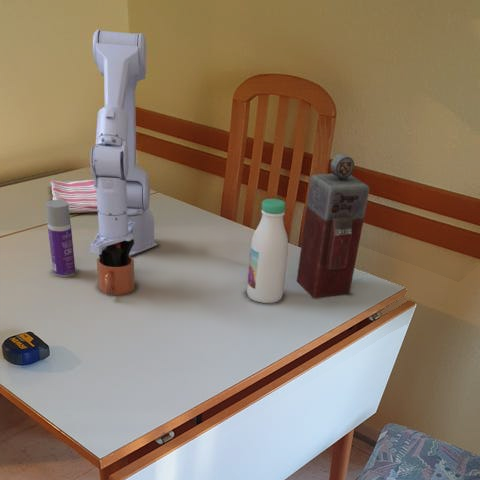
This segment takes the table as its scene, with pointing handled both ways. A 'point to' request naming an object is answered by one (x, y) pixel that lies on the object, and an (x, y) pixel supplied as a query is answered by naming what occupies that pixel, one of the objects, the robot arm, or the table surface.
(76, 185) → the dish towel
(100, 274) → the orange coffee mug
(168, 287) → the table surface
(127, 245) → the robot arm
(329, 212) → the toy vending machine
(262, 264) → the milk bottle
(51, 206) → the container
